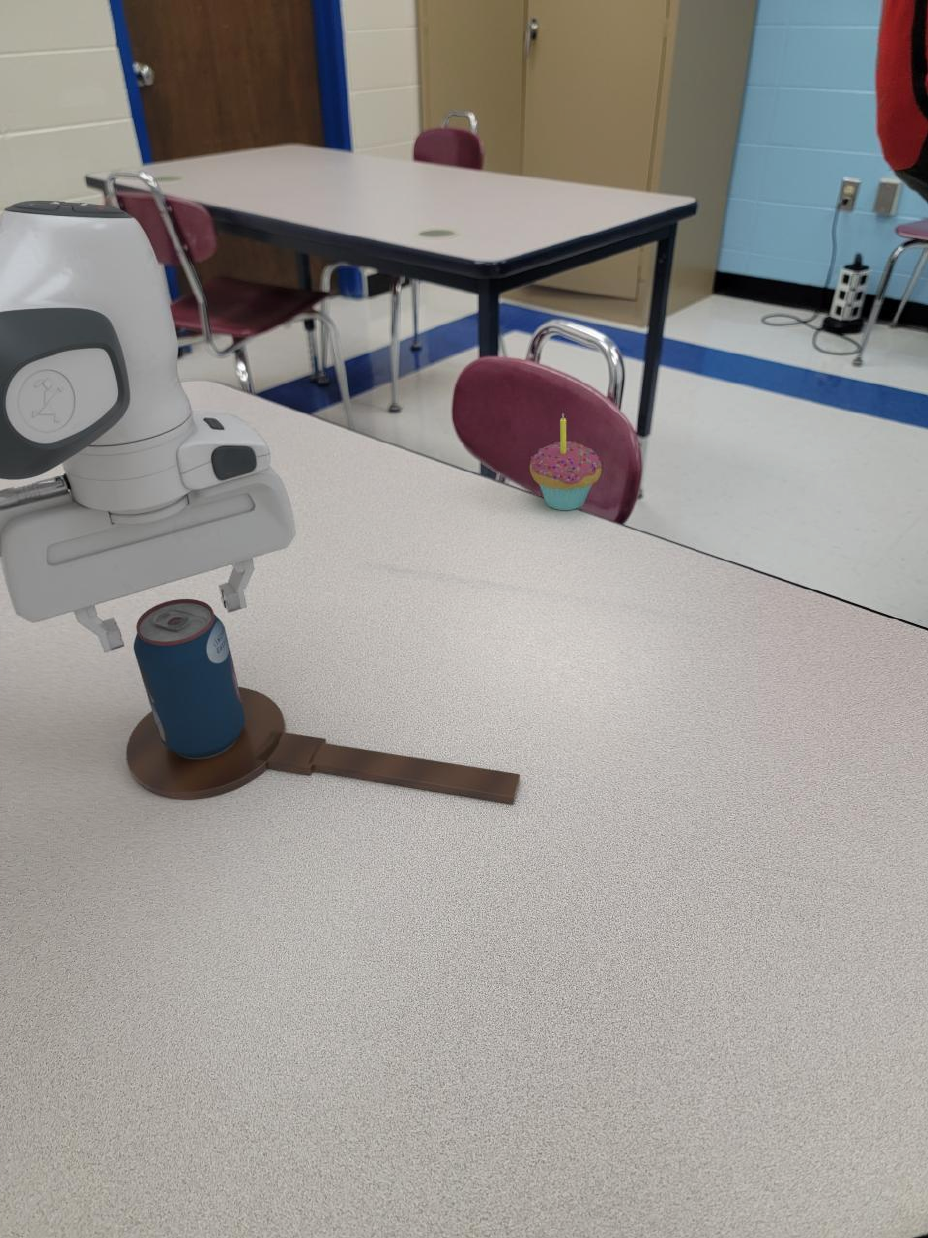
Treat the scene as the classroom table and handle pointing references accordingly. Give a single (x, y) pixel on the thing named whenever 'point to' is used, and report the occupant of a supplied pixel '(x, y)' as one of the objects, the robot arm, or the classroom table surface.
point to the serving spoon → (295, 761)
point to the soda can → (189, 678)
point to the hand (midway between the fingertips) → (175, 625)
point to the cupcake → (565, 471)
